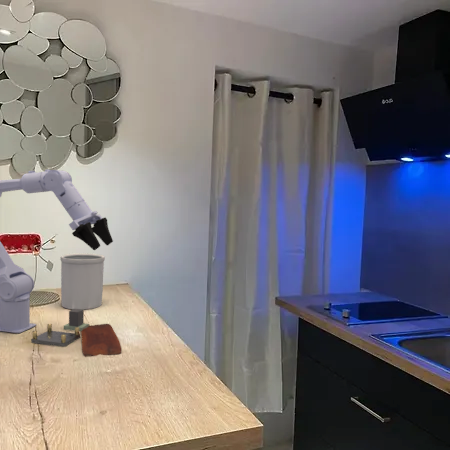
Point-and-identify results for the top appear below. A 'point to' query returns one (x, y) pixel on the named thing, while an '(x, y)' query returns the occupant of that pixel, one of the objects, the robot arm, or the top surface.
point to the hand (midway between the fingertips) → (103, 245)
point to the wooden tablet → (100, 341)
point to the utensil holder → (81, 280)
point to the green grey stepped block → (76, 320)
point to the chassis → (55, 337)
